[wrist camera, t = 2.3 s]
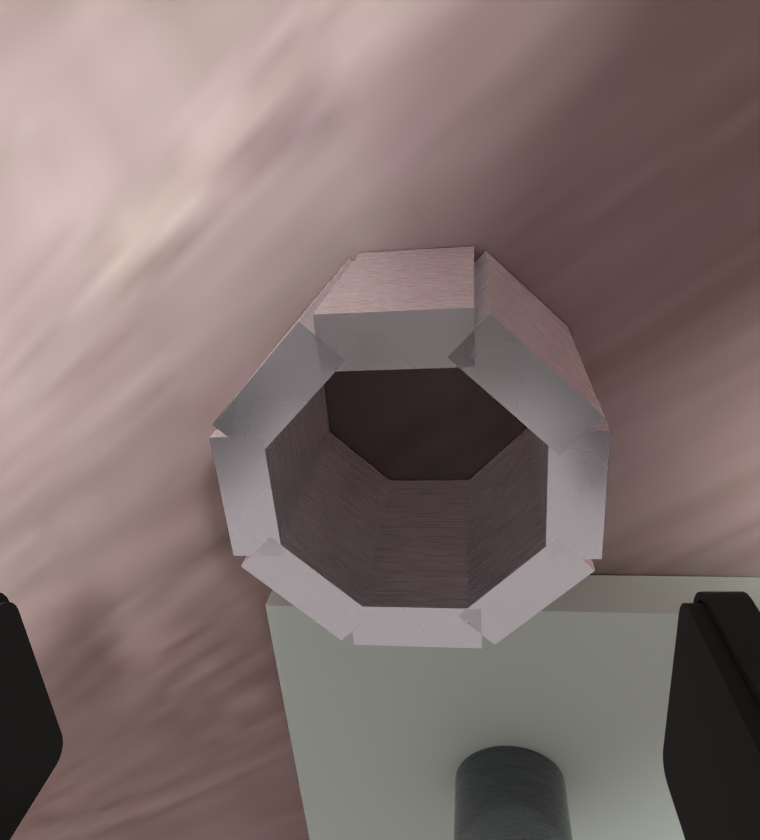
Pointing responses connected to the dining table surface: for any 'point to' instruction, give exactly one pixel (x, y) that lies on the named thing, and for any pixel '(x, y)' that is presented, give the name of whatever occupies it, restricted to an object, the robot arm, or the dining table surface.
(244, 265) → the dining table surface
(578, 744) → the green board
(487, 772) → the steel post
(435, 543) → the metal ring
